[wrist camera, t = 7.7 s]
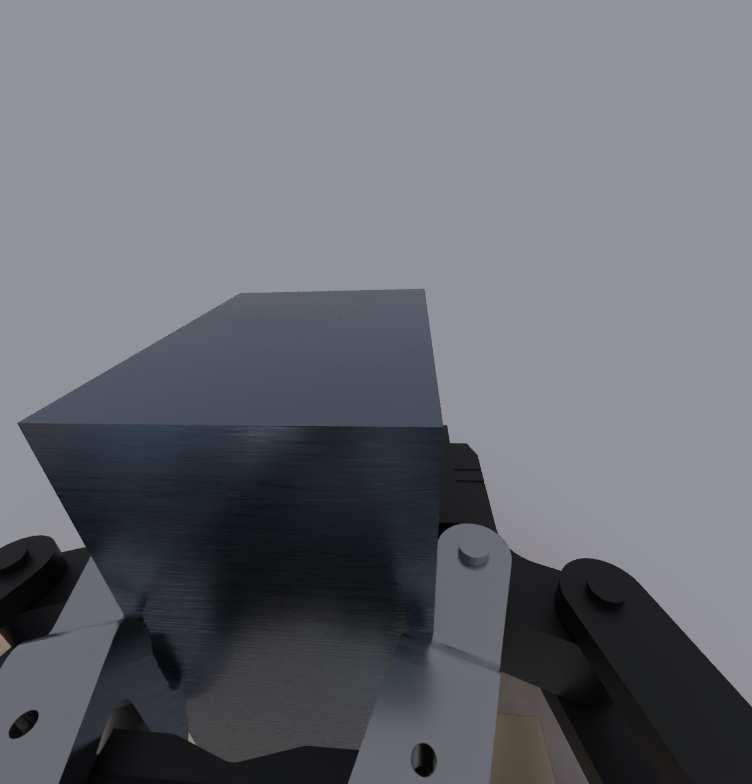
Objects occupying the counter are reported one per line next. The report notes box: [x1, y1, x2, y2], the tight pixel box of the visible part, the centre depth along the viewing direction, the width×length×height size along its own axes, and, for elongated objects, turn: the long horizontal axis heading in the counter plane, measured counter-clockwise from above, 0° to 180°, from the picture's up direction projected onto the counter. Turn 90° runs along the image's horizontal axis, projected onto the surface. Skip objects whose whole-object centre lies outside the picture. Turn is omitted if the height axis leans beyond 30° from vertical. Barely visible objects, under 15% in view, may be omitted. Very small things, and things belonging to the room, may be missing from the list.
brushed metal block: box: [18, 289, 443, 762], centre depth 9 cm, size 4×6×11 cm
